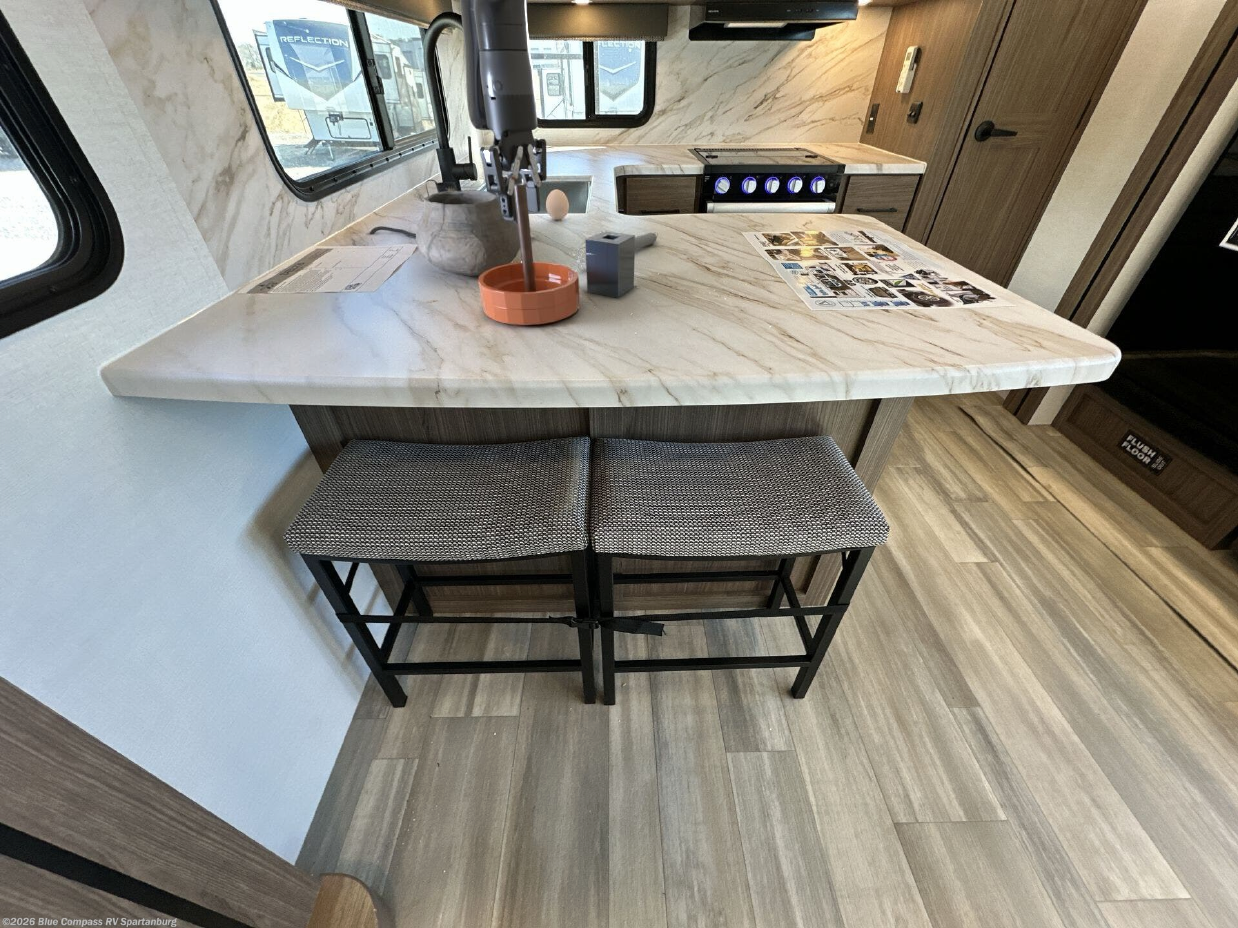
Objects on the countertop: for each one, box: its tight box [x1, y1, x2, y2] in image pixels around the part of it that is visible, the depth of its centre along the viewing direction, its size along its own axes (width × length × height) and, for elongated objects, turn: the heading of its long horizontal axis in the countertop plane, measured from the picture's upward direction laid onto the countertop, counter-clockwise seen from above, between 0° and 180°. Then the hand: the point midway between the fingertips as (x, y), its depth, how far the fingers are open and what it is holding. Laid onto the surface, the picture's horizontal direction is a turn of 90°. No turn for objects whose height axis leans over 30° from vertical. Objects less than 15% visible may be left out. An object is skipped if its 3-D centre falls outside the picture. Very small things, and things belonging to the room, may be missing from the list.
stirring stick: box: [514, 183, 536, 292], centre depth 87 cm, size 2×2×20 cm
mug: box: [425, 179, 458, 197], centre depth 137 cm, size 8×6×12 cm
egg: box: [545, 189, 570, 221], centre depth 146 cm, size 7×7×8 cm
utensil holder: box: [584, 230, 636, 299], centre depth 99 cm, size 7×7×10 cm
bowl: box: [477, 260, 581, 326], centre depth 92 cm, size 18×18×6 cm
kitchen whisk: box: [572, 231, 659, 272], centre depth 117 cm, size 6×34×6 cm, turn 147°
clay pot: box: [415, 189, 521, 277], centre depth 106 cm, size 22×21×15 cm
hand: (522, 215), depth 84 cm, fingers open, 6 cm apart
